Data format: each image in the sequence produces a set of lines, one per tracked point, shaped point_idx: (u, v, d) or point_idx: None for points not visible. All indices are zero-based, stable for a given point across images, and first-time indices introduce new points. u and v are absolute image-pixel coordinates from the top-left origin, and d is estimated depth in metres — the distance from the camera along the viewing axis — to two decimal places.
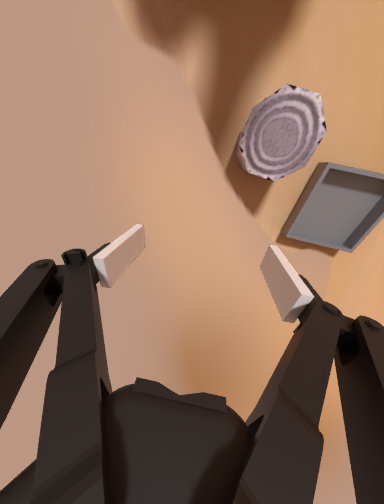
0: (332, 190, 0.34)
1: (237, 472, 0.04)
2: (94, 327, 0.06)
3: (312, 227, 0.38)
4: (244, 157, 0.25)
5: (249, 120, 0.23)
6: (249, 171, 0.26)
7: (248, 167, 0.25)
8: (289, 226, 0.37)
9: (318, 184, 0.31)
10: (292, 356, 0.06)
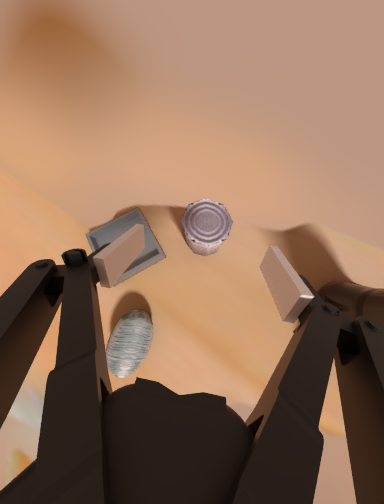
0: (141, 253, 0.43)
1: (237, 472, 0.04)
2: (94, 327, 0.06)
3: (126, 230, 0.45)
4: (215, 202, 0.35)
5: (229, 216, 0.34)
6: (205, 199, 0.35)
7: (208, 200, 0.35)
8: (142, 215, 0.44)
9: (155, 243, 0.41)
10: (292, 356, 0.06)
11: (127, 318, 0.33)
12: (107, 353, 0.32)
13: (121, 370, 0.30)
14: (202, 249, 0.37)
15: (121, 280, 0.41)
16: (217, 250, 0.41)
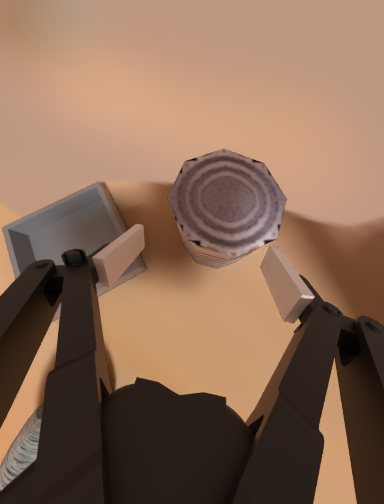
0: None
1: (237, 472, 0.04)
2: (94, 327, 0.06)
3: (82, 221, 0.27)
4: (244, 157, 0.16)
5: (277, 188, 0.15)
6: (223, 150, 0.16)
7: (229, 153, 0.16)
8: (107, 195, 0.25)
9: None
10: (292, 356, 0.06)
11: None
12: None
13: None
14: (214, 259, 0.18)
15: None
16: None
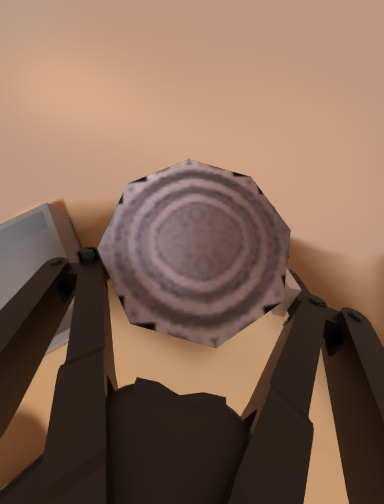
0: None
1: (233, 469, 0.04)
2: (103, 324, 0.06)
3: (28, 253, 0.21)
4: (220, 170, 0.10)
5: (274, 214, 0.10)
6: (188, 162, 0.10)
7: (197, 165, 0.10)
8: (58, 221, 0.19)
9: None
10: (282, 349, 0.06)
11: None
12: None
13: None
14: None
15: None
16: None
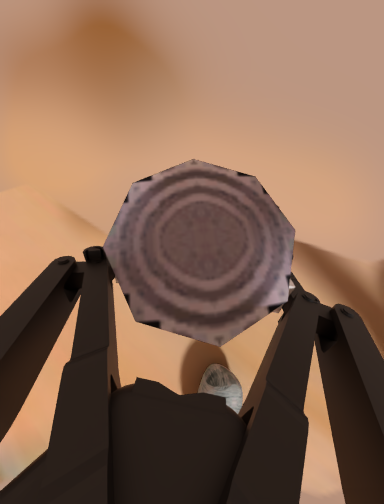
0: None
1: (230, 467, 0.04)
2: (108, 323, 0.06)
3: None
4: (225, 170, 0.11)
5: (279, 214, 0.10)
6: (193, 161, 0.11)
7: (202, 164, 0.11)
8: None
9: None
10: (277, 346, 0.06)
11: (218, 386, 0.26)
12: None
13: None
14: None
15: None
16: None
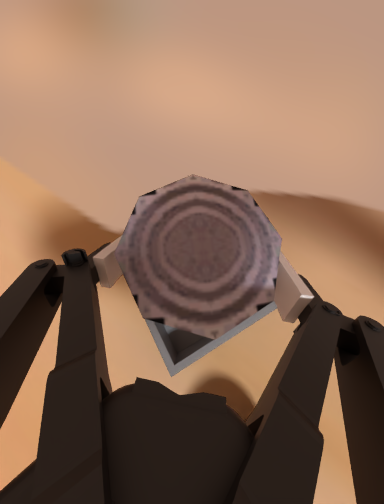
0: None
1: (237, 472, 0.04)
2: (94, 327, 0.06)
3: None
4: (221, 184, 0.12)
5: (268, 224, 0.11)
6: (192, 177, 0.12)
7: (200, 179, 0.12)
8: None
9: None
10: (292, 356, 0.06)
11: None
12: None
13: None
14: None
15: None
16: None
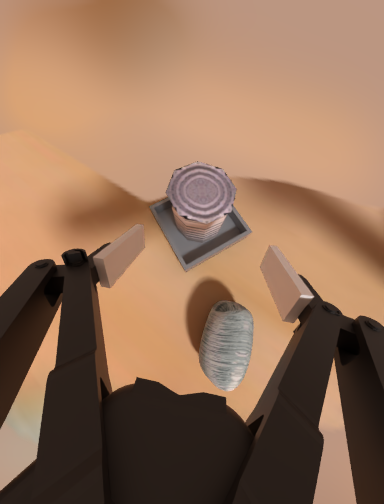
0: None
1: (237, 472, 0.04)
2: (94, 327, 0.06)
3: None
4: (210, 166, 0.26)
5: (231, 183, 0.26)
6: (197, 162, 0.26)
7: (201, 163, 0.26)
8: None
9: (239, 218, 0.33)
10: (292, 356, 0.06)
11: (229, 311, 0.25)
12: (208, 357, 0.23)
13: (232, 380, 0.22)
14: (198, 231, 0.28)
15: (197, 264, 0.32)
16: None
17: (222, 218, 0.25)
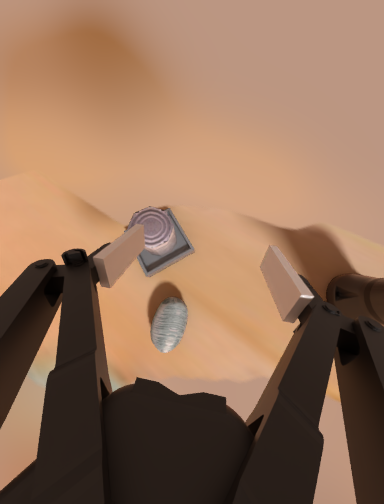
0: None
1: (237, 472, 0.04)
2: (94, 327, 0.06)
3: None
4: (158, 209, 0.40)
5: (170, 220, 0.40)
6: (149, 207, 0.40)
7: (152, 207, 0.40)
8: None
9: (186, 239, 0.47)
10: (292, 356, 0.06)
11: (168, 303, 0.39)
12: (153, 332, 0.37)
13: (166, 345, 0.36)
14: (152, 251, 0.42)
15: (156, 272, 0.46)
16: (170, 250, 0.47)
17: (164, 243, 0.39)
